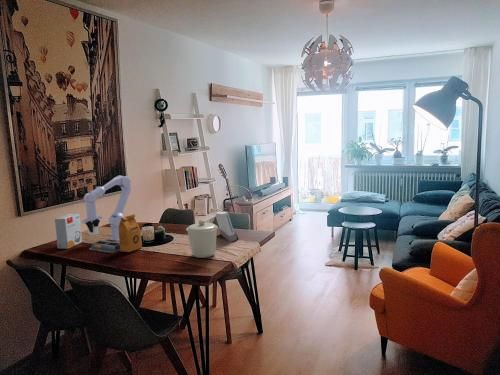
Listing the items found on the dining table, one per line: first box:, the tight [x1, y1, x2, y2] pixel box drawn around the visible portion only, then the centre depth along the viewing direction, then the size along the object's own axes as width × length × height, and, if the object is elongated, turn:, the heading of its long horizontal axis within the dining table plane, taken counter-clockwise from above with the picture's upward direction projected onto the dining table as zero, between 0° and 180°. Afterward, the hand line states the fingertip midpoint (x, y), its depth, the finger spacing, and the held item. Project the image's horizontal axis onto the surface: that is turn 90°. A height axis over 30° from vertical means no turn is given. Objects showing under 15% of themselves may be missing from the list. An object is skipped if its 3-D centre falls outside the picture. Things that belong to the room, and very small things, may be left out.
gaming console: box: [214, 211, 240, 243], centre depth 258 cm, size 23×8×20 cm, turn 21°
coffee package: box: [118, 213, 143, 253], centre depth 238 cm, size 10×12×22 cm
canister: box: [185, 219, 219, 259], centre depth 223 cm, size 18×18×21 cm
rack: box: [88, 240, 120, 254], centre depth 245 cm, size 12×20×4 cm, turn 64°
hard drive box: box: [54, 213, 83, 250], centre depth 255 cm, size 16×8×20 cm, turn 168°
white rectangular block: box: [86, 226, 100, 236], centre depth 254 cm, size 3×7×5 cm, turn 64°
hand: (93, 231), depth 254 cm, fingers closed on white rectangular block, 3 cm apart
